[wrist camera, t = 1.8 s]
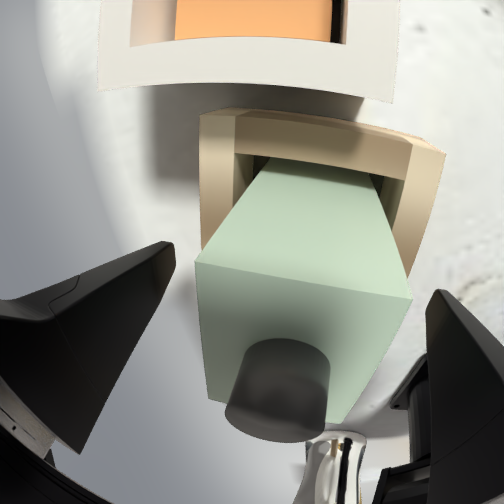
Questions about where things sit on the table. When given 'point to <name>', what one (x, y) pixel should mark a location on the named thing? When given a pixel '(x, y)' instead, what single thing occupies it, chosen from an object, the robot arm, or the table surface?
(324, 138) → the tan wooden frame
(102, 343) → the robot arm
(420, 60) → the table surface
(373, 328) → the plug
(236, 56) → the socket
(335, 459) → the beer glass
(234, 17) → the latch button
